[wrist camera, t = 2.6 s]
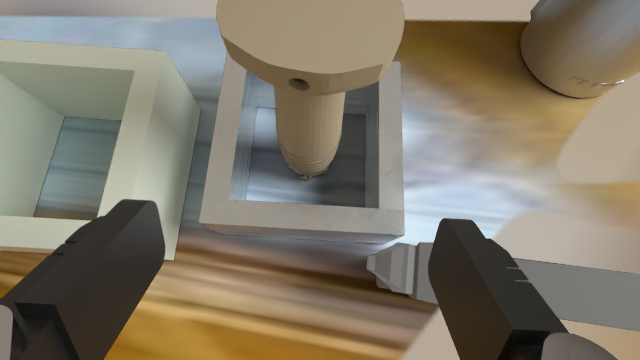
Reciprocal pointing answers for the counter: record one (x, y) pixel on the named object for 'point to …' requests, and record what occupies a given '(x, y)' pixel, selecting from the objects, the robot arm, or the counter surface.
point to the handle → (311, 63)
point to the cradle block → (96, 103)
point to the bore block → (305, 219)
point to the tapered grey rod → (548, 278)
